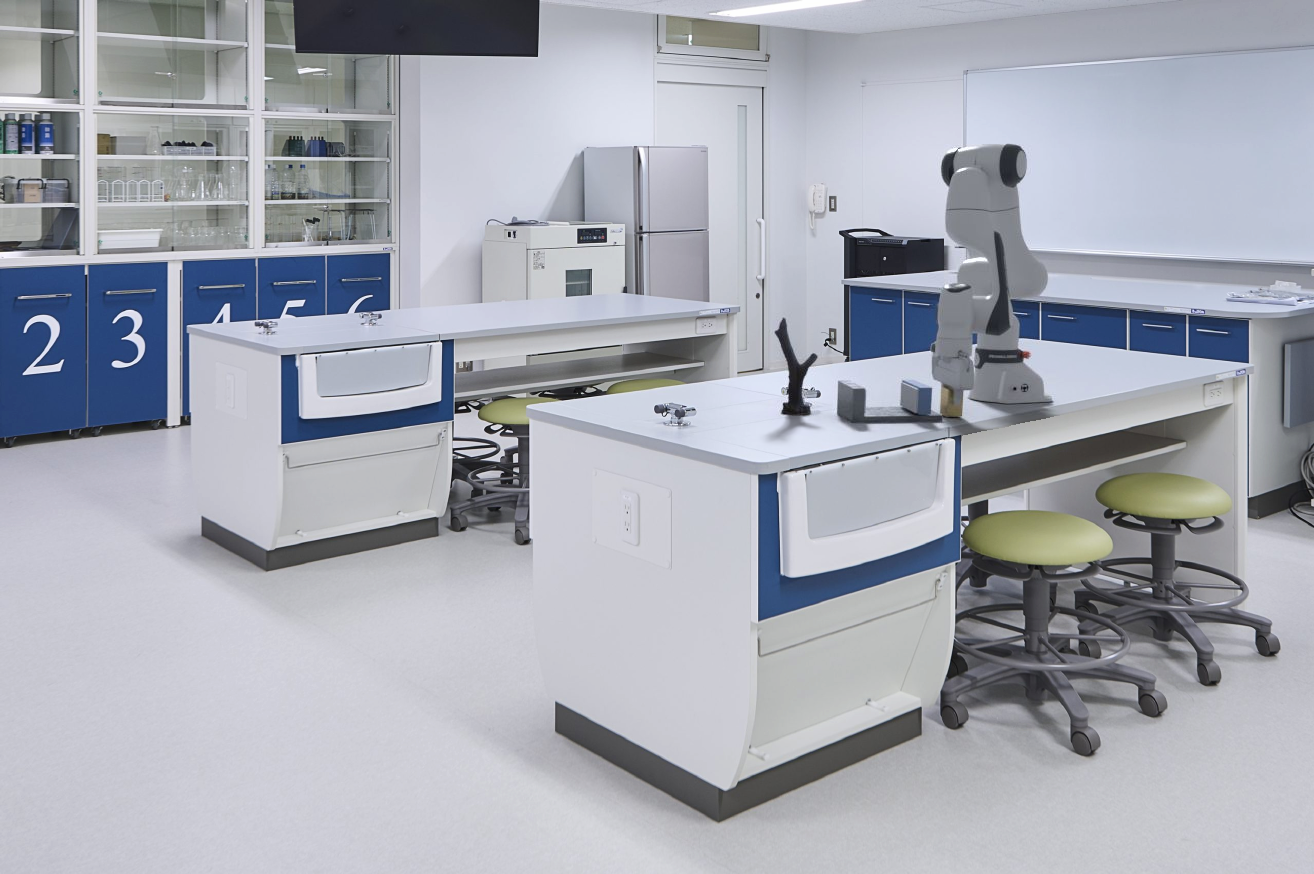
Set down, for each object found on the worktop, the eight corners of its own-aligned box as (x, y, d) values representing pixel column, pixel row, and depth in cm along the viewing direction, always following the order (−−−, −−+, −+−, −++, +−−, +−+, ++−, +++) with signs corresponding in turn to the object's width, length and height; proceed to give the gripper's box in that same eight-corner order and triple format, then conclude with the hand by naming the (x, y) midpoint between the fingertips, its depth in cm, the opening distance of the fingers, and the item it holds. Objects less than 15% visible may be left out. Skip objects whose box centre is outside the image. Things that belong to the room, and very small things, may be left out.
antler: (797, 409, 315) (800, 314, 310) (819, 413, 309) (823, 316, 304) (766, 414, 307) (768, 316, 303) (789, 418, 301) (791, 318, 297)
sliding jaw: (912, 405, 311) (913, 379, 310) (930, 414, 298) (932, 387, 296) (898, 405, 311) (900, 379, 310) (916, 414, 297) (918, 387, 296)
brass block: (954, 413, 309) (956, 386, 307) (962, 416, 304) (963, 389, 302) (939, 413, 308) (941, 386, 307) (946, 416, 303) (948, 389, 302)
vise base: (923, 412, 312) (924, 379, 310) (942, 421, 298) (943, 387, 297) (836, 413, 309) (838, 380, 308) (852, 422, 296) (853, 388, 294)
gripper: (982, 353, 293) (979, 409, 296) (951, 343, 313) (949, 396, 315) (957, 354, 292) (954, 410, 295) (928, 344, 312) (925, 396, 315)
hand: (951, 402), depth 305 cm, fingers closed on brass block, 5 cm apart
